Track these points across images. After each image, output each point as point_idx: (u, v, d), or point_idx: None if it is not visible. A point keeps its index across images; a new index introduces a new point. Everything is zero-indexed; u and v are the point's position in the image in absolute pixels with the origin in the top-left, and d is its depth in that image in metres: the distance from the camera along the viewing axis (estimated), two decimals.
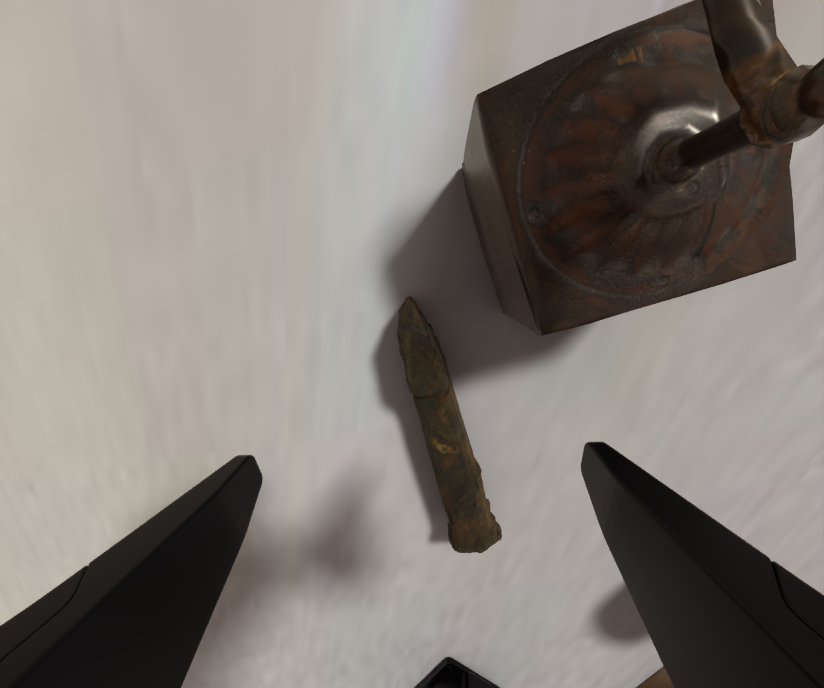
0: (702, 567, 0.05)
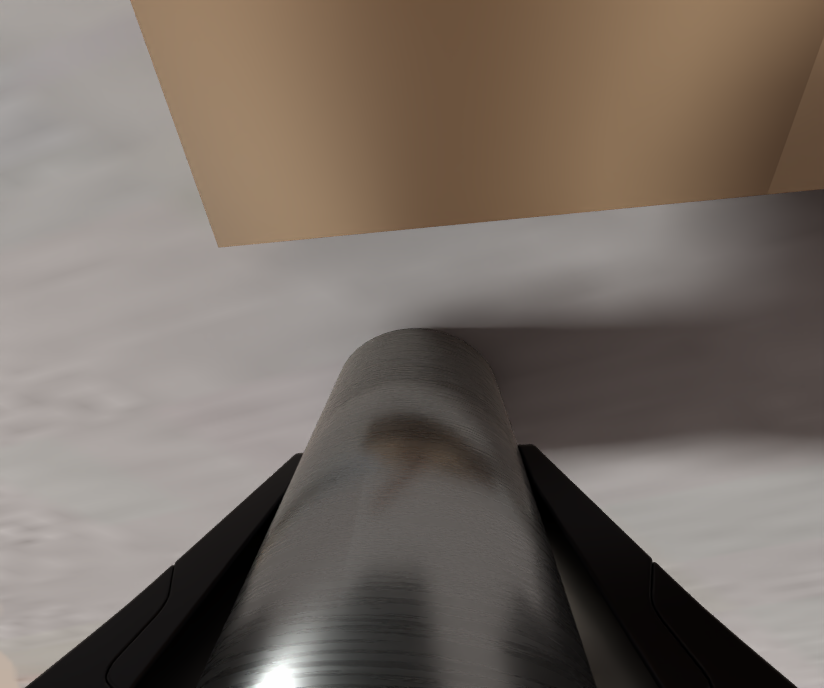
0: (587, 568, 0.05)
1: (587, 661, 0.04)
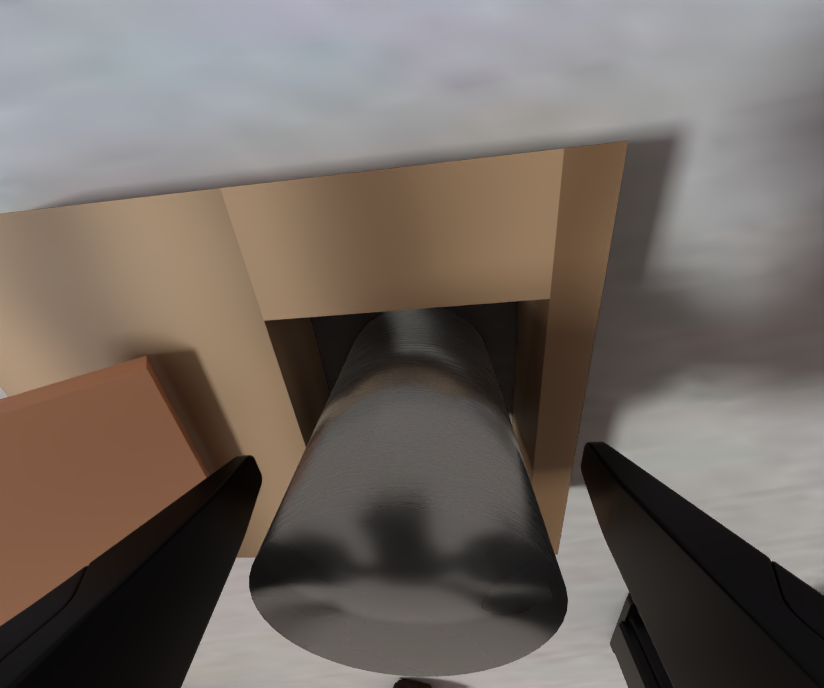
0: (702, 567, 0.05)
1: (542, 520, 0.06)
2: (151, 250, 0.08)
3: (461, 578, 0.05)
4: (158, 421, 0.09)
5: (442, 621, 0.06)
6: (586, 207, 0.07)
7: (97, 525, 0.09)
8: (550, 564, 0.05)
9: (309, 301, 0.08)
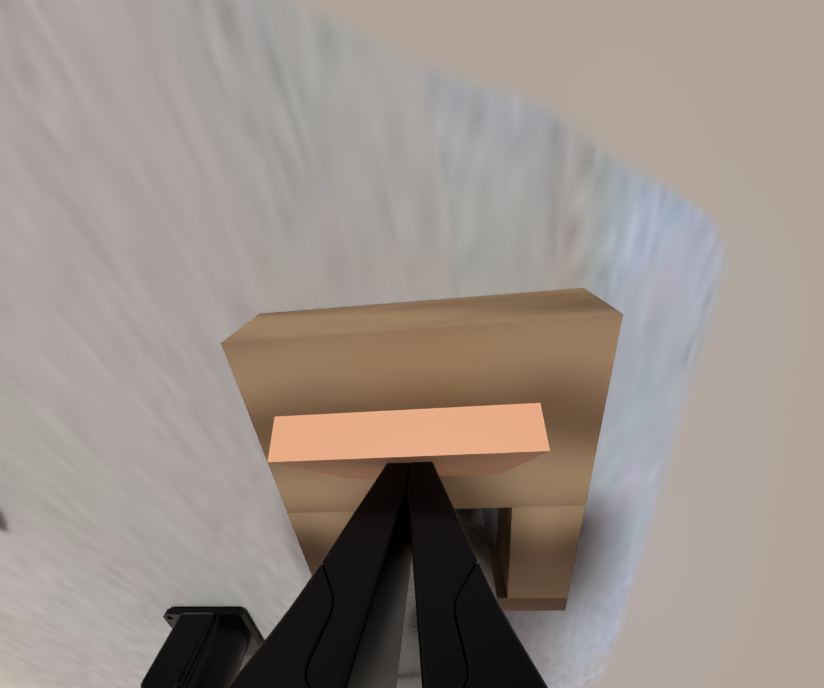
0: (416, 568, 0.05)
1: None
2: (563, 469, 0.14)
3: None
4: (460, 474, 0.13)
5: None
6: (544, 604, 0.18)
7: None
8: None
9: (520, 526, 0.16)
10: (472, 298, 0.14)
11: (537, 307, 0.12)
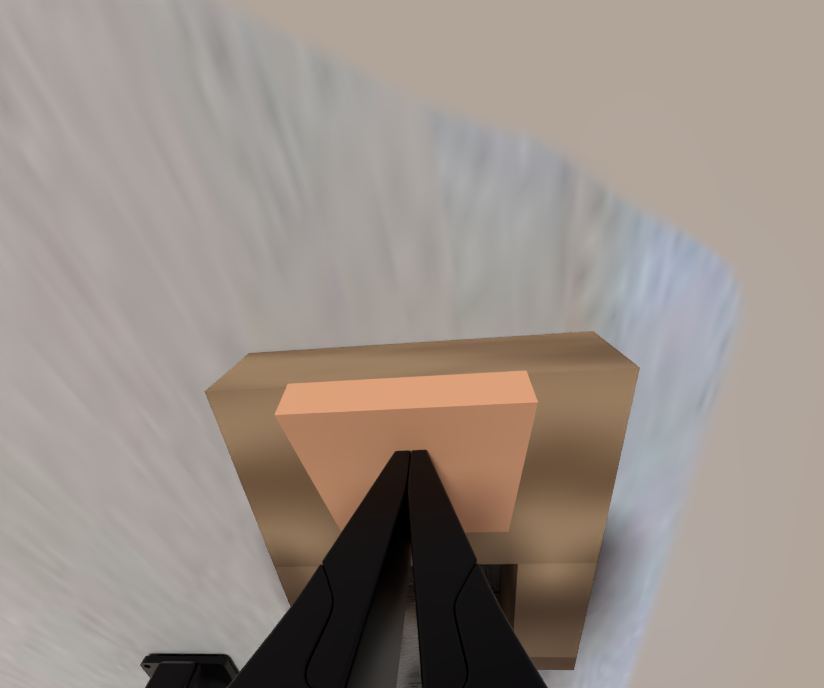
0: (415, 569, 0.05)
1: None
2: (573, 526, 0.13)
3: None
4: (463, 528, 0.11)
5: None
6: (551, 663, 0.17)
7: None
8: None
9: (526, 584, 0.14)
10: (475, 340, 0.13)
11: (546, 355, 0.11)
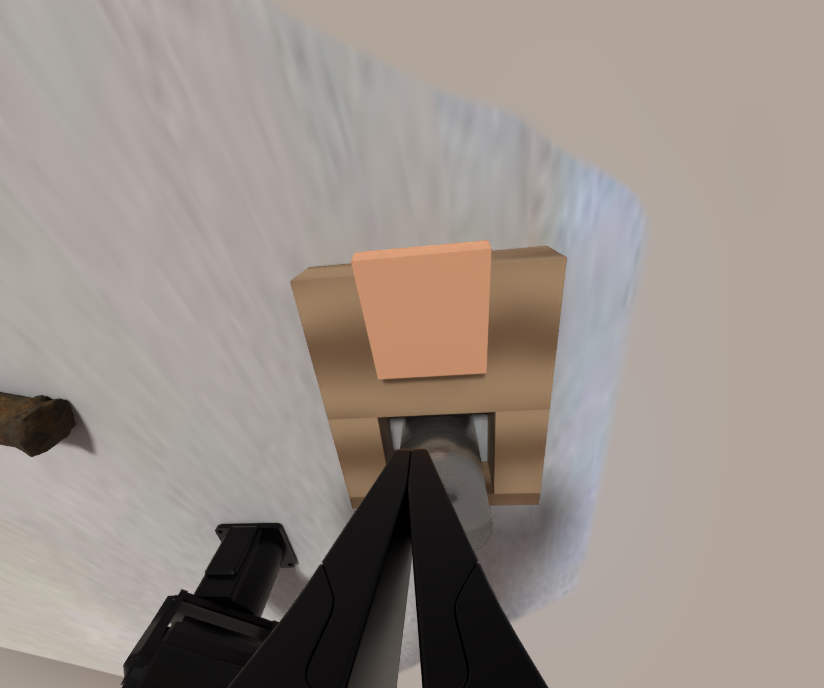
0: (416, 568, 0.05)
1: None
2: (532, 379, 0.19)
3: None
4: (456, 370, 0.18)
5: None
6: (522, 498, 0.24)
7: (408, 338, 0.16)
8: None
9: (502, 428, 0.21)
10: None
11: (511, 256, 0.17)
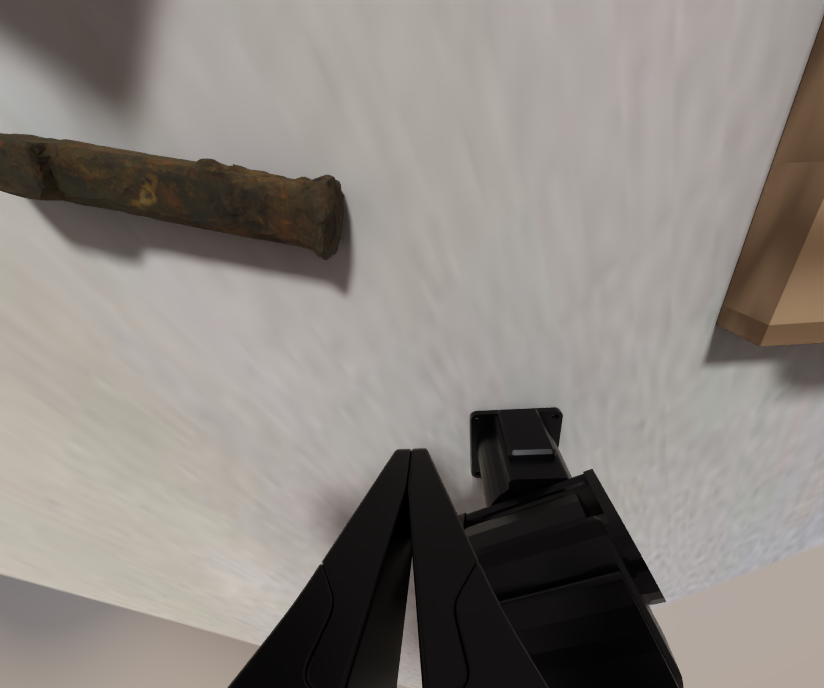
0: (416, 569, 0.05)
1: None
2: None
3: None
4: None
5: None
6: None
7: None
8: None
9: None
10: None
11: None
